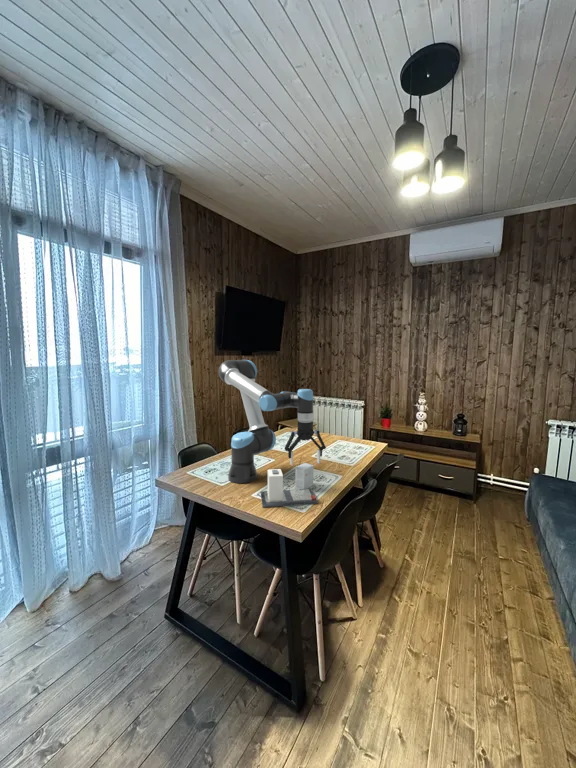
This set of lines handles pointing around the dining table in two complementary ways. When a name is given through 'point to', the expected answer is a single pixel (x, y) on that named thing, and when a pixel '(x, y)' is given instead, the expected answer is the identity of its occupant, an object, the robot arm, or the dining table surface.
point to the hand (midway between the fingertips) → (305, 463)
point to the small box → (304, 476)
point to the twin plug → (275, 484)
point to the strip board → (290, 498)
